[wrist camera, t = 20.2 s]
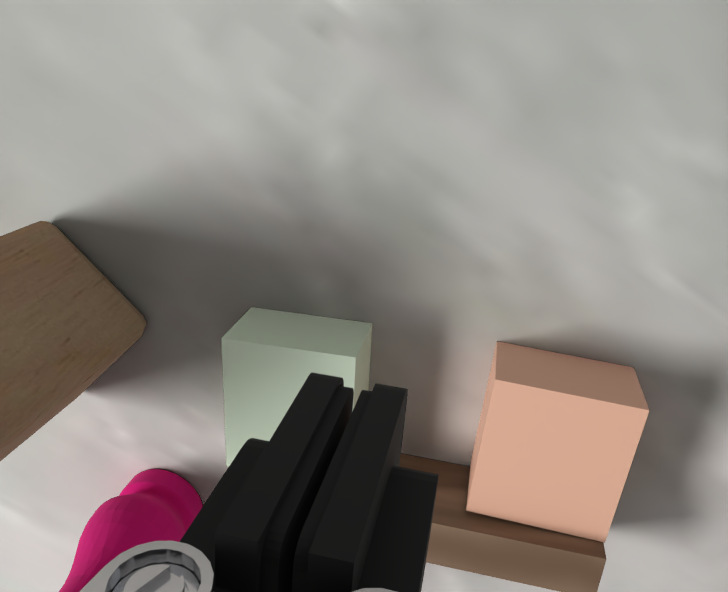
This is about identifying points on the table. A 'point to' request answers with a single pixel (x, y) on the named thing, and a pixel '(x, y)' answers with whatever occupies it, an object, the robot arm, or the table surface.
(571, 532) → the terracotta block
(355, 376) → the sage block
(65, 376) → the wooden block
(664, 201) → the table surface
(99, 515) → the pepper mill
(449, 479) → the walnut board
